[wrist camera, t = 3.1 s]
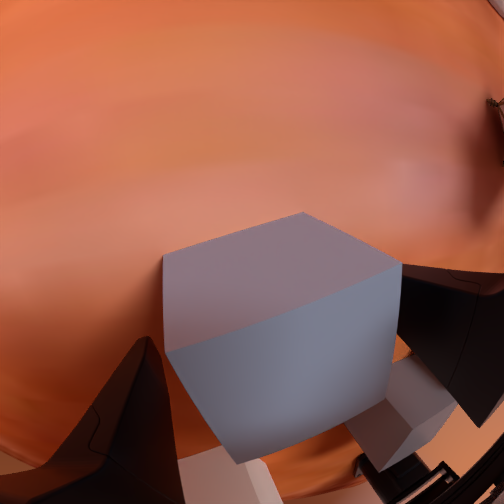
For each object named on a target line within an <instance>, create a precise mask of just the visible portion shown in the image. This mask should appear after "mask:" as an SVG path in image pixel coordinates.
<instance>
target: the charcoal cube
mask: <svg viewBox="0 0 504 504" xmlns="http://www.w3.org/2000/svg"><path fill="white" fill-rule="evenodd" d="M457 405H458V403H457V402H456V400H455V399H454V398H453V397H452V396H451V394H450V393H449V392H448V391H447V389H446V388H445V387H444V386H443V385H442V384H441V383H440V381H439V380H438V379H437V378H436V377H435V376H434V374H433V373H432V372H431V371H430V370H429V369H428V368H427V367H426V365H425V364H424V363H423V362H422V361H421V360H420V359H419V358H418V356H417V355H416V354H414V355H411V356H409V357H407V358H404V359H402V360H400V361H397V362H395V363H392V365H391V371H390V376H389V381H388V386H387V390H386V395H385V399H384V400H382V401H381V402H379V403H377V404H376V405H374V406H372V407H370V408H369V409H367V410H365V411H363V412H362V413H360V414H358V415H356V416H354V417H353V418H351V419H349V420H347V421H345V422H344V424H345V426H346V427H347V428H348V430H349V431H350V433H351V434H352V436H353V437H354V439H355V440H356V441H357V443H358V444H359V446H360V447H361V448H362V450H363V451H364V453H365V454H366V456H367V457H368V458H369V460H370V461H371V463H372V464H373V465H374V467H375V468H376V470H377V471H378V472H381V471H383V470H385V469H386V468H388V467H390V466H392V465H393V464H395V463H397V462H399V461H400V460H402V459H404V458H405V457H407V456H409V455H410V454H412V453H413V452H415V451H416V450H418V449H419V448H421V447H422V446H424V445H425V444H427V443H428V442H430V441H431V440H432V439H433V437H434V436H435V435H436V434H437V432H438V431H439V430H440V428H441V427H442V426H443V425H444V423H445V422H446V420H447V419H448V418H449V416H450V415H451V413H452V412H453V411H454V409H455V408H456V406H457Z"/></svg>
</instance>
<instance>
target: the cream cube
mask: <svg viewBox="0 0 504 504" xmlns="http://www.w3.org/2000/svg"><path fill="white" fill-rule="evenodd" d="M178 466H179V472H180V478H181V483H182V488H183V493H184V498H185V503H186V504H283V502H282V500H281V498H280V495H279V493H278V491H277V489H276V486H275V484H274V482H273V480H272V477H271V475H270V473H269V470H268V468H267V466H266V464H265V463H264V462H263V461H262V460H260V459H259V458H257V459H254V460H251V461H248V462H244V463H241V464H238V465H237V464H236V463H235V462H234V460H233V459H232V458H231V456H230V455H229V454H228V452H227V451H226V450H225V448H224V447H223V446H222V445H221V446H218V447H215V448H213V449H210V450H207V451H204V452H201V453H198V454H195V455H192V456H189V457H186V458H183V459H179V460H178Z"/></svg>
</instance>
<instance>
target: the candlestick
mask: <svg viewBox="0 0 504 504" xmlns="http://www.w3.org/2000/svg"><path fill="white" fill-rule="evenodd" d="M489 2H490V3H491V4H492V6H493V7H494V8H495V9H496V10H497V12H498V13H499V14H500V15H501V16H502V17H503V18H504V0H489Z"/></svg>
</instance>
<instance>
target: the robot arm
mask: <svg viewBox="0 0 504 504" xmlns="http://www.w3.org/2000/svg"><path fill="white" fill-rule="evenodd" d="M397 335H398V336H399V337H400V338H401V339H402V340H403V341H404V342H405V343H406V344H407V345H408V346H409V348H410V349H411V350H412V351H413V352H414V353H415V354H416V355H417V356H418V358H419V359H420V360H421V361H422V362H423V363H424V364H425V365H426V367H427V368H428V369H429V370H430V371H431V372H432V373H433V374H434V376H435V377H436V378H437V379H438V380H439V381H440V383H441V384H442V385H443V386H444V387H445V388H446V389H447V391H448V392H449V393H450V394H451V396H452V397H453V398H454V399H455V400H456V402H457V403H458V404H459V405H460V406H461V408H462V409H463V410H464V411H465V412H466V414H467V415H468V416H469V417H470V419H471V420H472V421H473V422H474V424H475V425H476V426H477V427H478V428H480V427H481V426H482V425H483V424H484V423H485V422H486V420H487V419H488V418H489V417H490V416H491V415H492V414H493V413H494V412H495V410H496V409H497V408H498V407H499V406H500V404H501V403H502V402H503V401H504V273H486V272H471V271H460V270H451V269H442V268H434V267H426V266H417V265H409V264H402V279H401V294H400V306H399V316H398V324H397ZM439 473H441V474H442V476H441V477H440V478H439V479H437V480H436V481H435V482H434V483H433V484H431V485H430V486H429V487H428V488H426V489H425V490H424V491H422V492H421V493H420V494H418V495H417V496H415V497H414V498H413V499H411V500H410V501H408V502H407V503H405V504H473V503H474V502H475V501H476V500H478V499H479V498H480V496H482V495H483V494H484V493H485V492H486V490H487V489H488V488H489V487H490V486H491V485H492V484H494V485H495V486H496V487H495V488H494V489H493V490H492V491H491V492H490V494H491V495H490V496H489V497H488V498H486V499H485V500H484V501H482V502H481V503H480V504H504V432H503V434H502V435H501V436H500V437H499V438H498V439H497V441H496V442H495V443H494V444H493V445H492V446H491V448H490V449H489V450H488V451H487V452H486V453H485V454H484V455H483V456H482V457H481V458H480V459H479V460H478V461H477V462H476V463H475V464H474V465H473V466H472V467H471V468H470V469H469V470H468V471H467V472H466V473H465V474H464V475H463V476H462V477H461V478H460V477H459V476H458V475H457V474H456V473H455V472H454V471H453V470H452V469H451V468H450V467H449V466H448V465H447V464H446V463H445V462H444V461H442V462H441V463H439V465H438V466H437V467H436V468H435V469H434V470H432V471H431V470H430V469H429V468H428V466H427V465H426V464H425V463H424V462H423V460H421V458H420V457H419V456H418V455H417V453H416V452H413V453H412V454H410V455H409V456H407V457H405V458H404V459H402V460H400V461H399V462H397V463H395V464H393V465H392V466H390V467H388V468H386V469H385V470H383V471H381V472H378V471H377V470H376V468H375V467H374V465H373V464H372V463H371V461H370V460H369V458H368V457H367V456H366V454H363V455H362V456H360V457H359V458H358V459H357V463H356V467H355V471H354V474H353V475H354V477H355V478H356V477H358V476H360V475H362V474H364V476H365V477H366V479H367V480H368V482H369V483H370V485H371V486H372V487H373V489H374V490H375V492H376V493H377V495H378V496H379V498H380V499H381V500H382V502H383V503H384V504H399V503H401V502H402V501H404V500H405V499H406V498H408V497H410V496H411V495H412V494H414V493H415V492H416V491H418V490H419V489H420V488H422V487H423V486H424V485H426V484H427V483H428V482H430V481H431V480H432V479H433V478H434V477H436V476H437V475H438V474H439ZM446 481H448V482H449V483H447V482H446ZM0 504H186V503H185V498H184V493H183V488H182V483H181V478H180V472H179V466H178V460H177V454H176V448H175V441H174V433H173V425H172V417H171V408H170V399H169V393H168V388H167V384H166V379H165V375H164V370H163V365H162V360H161V356H160V354H159V352H158V350H157V348H156V346H155V345H154V343H153V341H152V339H151V338H150V337H149V336H146V337H142V338H139V339H138V340H137V341H136V342H135V344H134V345H133V346H132V348H131V349H130V351H129V352H128V353H127V355H126V356H125V357H124V359H123V360H122V362H121V363H120V364H119V366H118V367H117V369H116V370H115V371H114V373H113V374H112V376H111V377H110V378H109V380H108V381H107V383H106V384H105V386H104V387H103V388H102V390H101V391H100V393H99V394H98V396H97V397H96V398H95V400H94V401H93V403H92V405H91V406H90V407H89V409H88V410H87V412H86V413H85V414H84V416H83V417H82V419H81V420H80V422H79V423H78V424H77V426H76V427H75V428H74V429H73V431H72V432H71V433H70V435H69V436H68V437H67V438H66V440H65V441H64V442H63V443H62V445H61V446H60V447H59V448H58V450H57V451H56V452H55V453H54V455H53V456H52V457H51V458H50V459H49V461H48V462H46V463H45V464H44V465H42V466H41V467H38V468H36V469H32V470H28V471H23V472H18V473H12V474H7V475H0Z"/></svg>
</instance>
